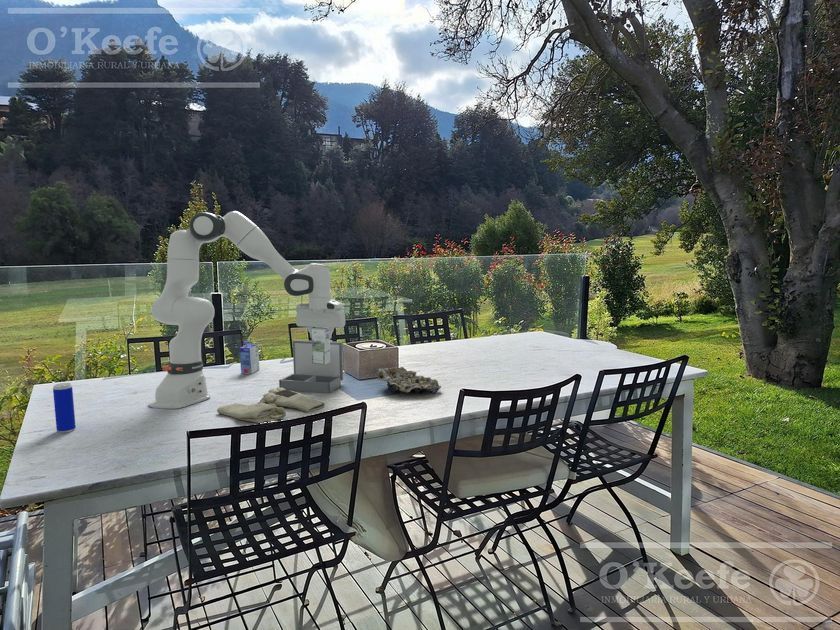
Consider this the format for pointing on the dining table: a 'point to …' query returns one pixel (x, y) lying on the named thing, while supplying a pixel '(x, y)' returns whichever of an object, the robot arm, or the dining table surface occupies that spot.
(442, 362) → the dining table surface
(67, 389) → the beverage can
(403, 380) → the decorative rock
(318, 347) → the syrup box
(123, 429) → the dining table surface
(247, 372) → the ink cartridge box
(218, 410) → the pair of gloves
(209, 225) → the robot arm
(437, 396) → the dining table surface
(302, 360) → the equipment case
